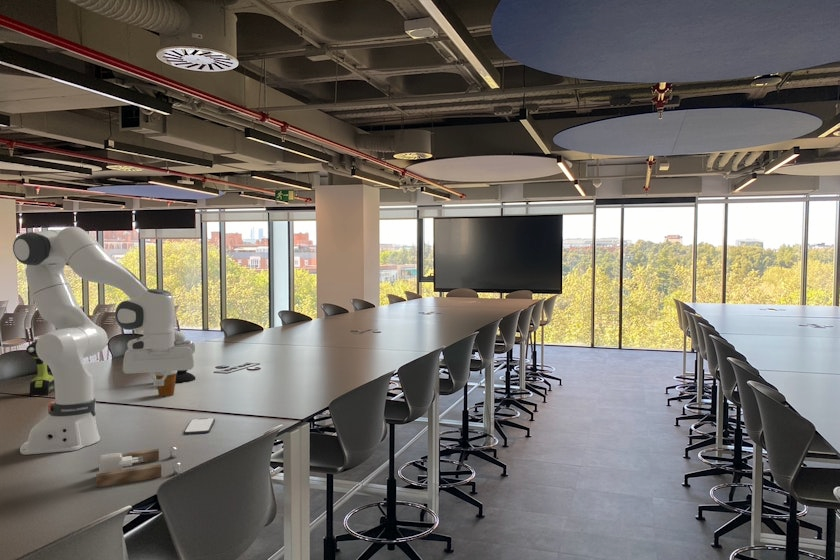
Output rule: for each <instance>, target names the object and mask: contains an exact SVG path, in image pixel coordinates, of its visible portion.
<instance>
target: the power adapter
mask: <svg viewBox="0 0 840 560" xmlns="http://www.w3.org/2000/svg"><path fill="white" fill-rule="evenodd" d="M122 454H123V453H122V452H114V453H111V452H110V453H105V454H101V455H99V457H100V458H99V457H98V474H100V473H106V472H113V471H119V470H124V468H123V467H129V466H133V464H132V463H135V462H142V461H143V459H142V458H143V457H142V456H141V457H135V458H132V456H126V457H122ZM137 459H139V460H137ZM132 460H133V461H132Z"/></svg>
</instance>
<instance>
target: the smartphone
mask: <svg viewBox="0 0 840 560" xmlns="http://www.w3.org/2000/svg"><path fill="white" fill-rule="evenodd" d="M215 422H216V419H215V417H210V418H209V417H208V418H195V419H191V420H190V421H189V422H188V425H187V426H186V428H185V430H184V431H183V435H185V436H188V435H189V434H191V435H204V434H205V435H206V434H209V433H210V432H211V431H212V429H213V426H214V425H215Z"/></svg>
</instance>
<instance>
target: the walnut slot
mask: <svg viewBox="0 0 840 560" xmlns="http://www.w3.org/2000/svg"><path fill="white" fill-rule="evenodd" d="M159 450H160V449H159V448H154V449H148V450H140V451H139V450H138V451H133V452H125V453H121V454H122V457H126V456H132V458H135V457H141V456H142V457H143V458H142V459H143V461H142V462H145V463H149V462H148V461H151V462H157V461H156V460H158V461H160V451H159ZM99 458H100V456H99V457H98V459H99ZM137 460H139V459H137ZM132 461H133V460H132ZM135 463H138V464H141V463H140V462H135ZM132 465H135V464H134V463H132ZM95 476H96V477H95V478H96V480H95V483H96V484H95V485H96V488H101V487H102V488H103V487H107V486H114V485H120V484H126V483H132V482H139V481H144V480H151V479H159V478H162V464H161V463H160V464H159V463H158V464H153V465H147V466H146V465H145V466H140V467H134V468H128V469H123V470H119V471H113V472H106V473H100V474H99V473H96V475H95Z"/></svg>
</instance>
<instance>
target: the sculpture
mask: <svg viewBox="0 0 840 560" xmlns="http://www.w3.org/2000/svg"><path fill="white" fill-rule="evenodd" d="M175 341H186V334H185V333H184V332H182V331H175ZM174 345H175V344H174ZM188 371H189V370H178V371H177V373H176V381H175V384H183V382H186V383H190V381H191V382H193V380H194V381H195V380H196V376H195V375H194V374H193V373H191V372H188Z"/></svg>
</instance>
